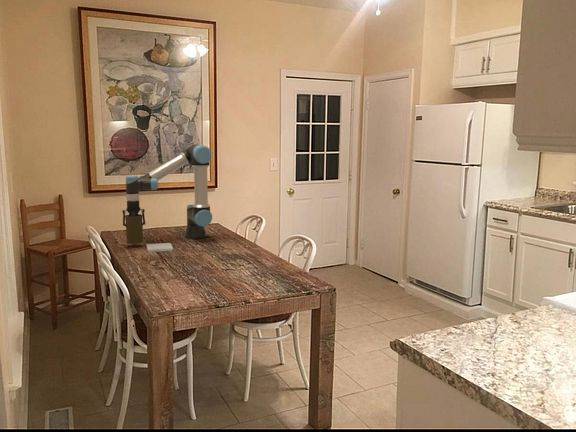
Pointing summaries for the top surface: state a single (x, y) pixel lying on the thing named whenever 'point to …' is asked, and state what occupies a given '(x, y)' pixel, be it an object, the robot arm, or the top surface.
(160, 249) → the trivet
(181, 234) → the top surface
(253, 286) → the top surface
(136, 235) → the canister
